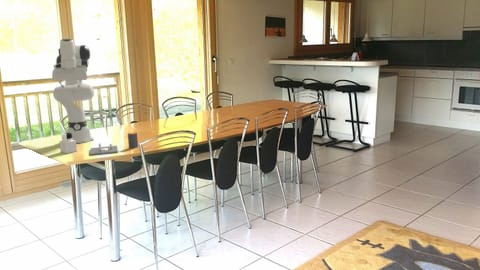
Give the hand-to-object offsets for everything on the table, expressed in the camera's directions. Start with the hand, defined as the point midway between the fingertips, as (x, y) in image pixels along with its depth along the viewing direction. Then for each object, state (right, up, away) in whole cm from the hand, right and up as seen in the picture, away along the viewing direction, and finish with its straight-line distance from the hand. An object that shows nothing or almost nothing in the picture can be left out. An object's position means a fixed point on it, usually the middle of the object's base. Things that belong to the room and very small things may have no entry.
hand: (70, 87), depth 266 cm
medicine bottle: (-2, -40, +1) cm, 40 cm away
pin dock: (+21, -39, -1) cm, 45 cm away
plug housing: (+37, -37, +6) cm, 53 cm away
